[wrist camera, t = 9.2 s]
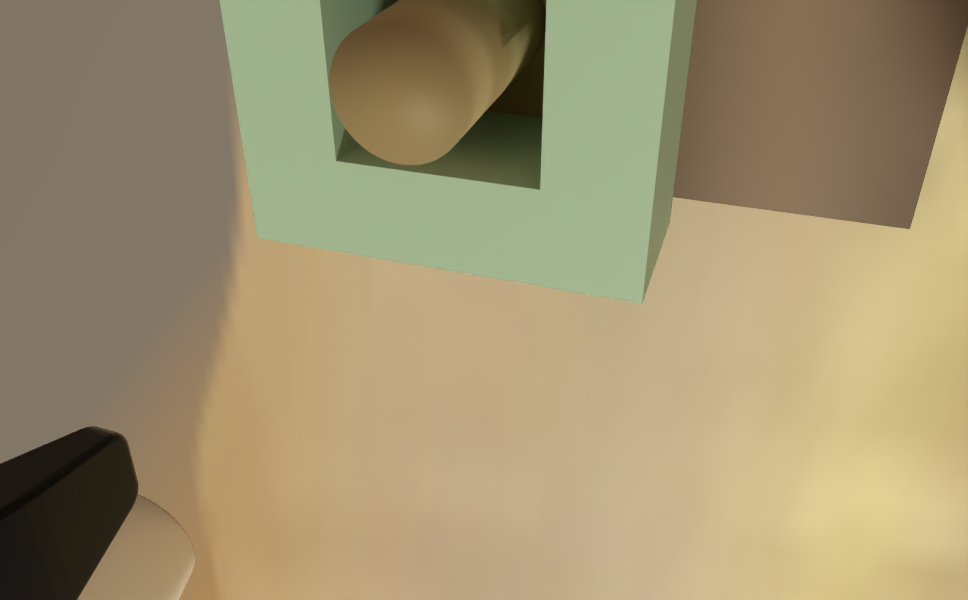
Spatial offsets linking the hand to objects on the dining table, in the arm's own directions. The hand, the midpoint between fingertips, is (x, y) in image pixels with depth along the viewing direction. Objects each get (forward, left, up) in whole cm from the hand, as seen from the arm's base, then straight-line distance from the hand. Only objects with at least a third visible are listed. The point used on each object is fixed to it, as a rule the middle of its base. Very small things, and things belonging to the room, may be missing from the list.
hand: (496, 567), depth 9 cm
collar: (+2, -4, -7) cm, 8 cm away
